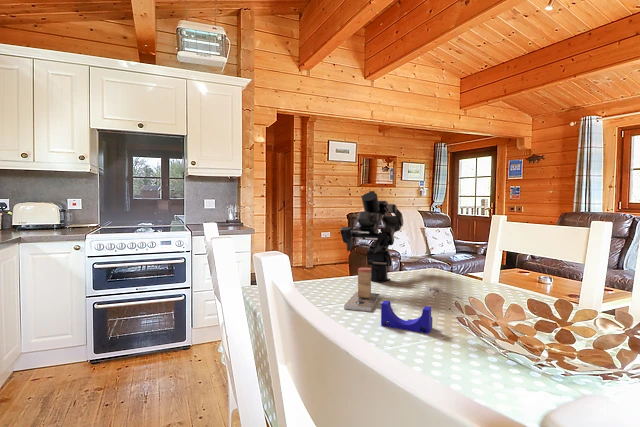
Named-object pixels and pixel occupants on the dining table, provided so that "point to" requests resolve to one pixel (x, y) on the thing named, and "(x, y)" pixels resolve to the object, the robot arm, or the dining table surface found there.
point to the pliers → (436, 288)
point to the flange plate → (362, 302)
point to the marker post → (364, 282)
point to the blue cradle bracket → (417, 325)
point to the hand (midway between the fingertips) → (360, 251)
